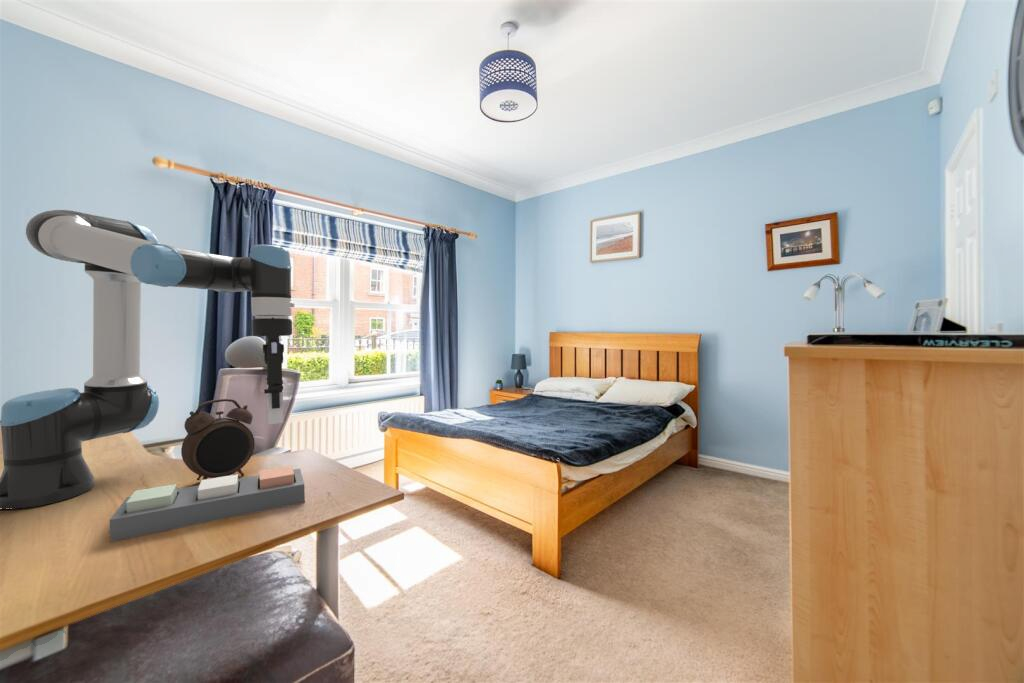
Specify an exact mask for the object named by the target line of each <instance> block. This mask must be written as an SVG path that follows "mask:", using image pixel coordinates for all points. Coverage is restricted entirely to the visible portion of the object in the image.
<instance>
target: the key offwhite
mask: <svg viewBox="0 0 1024 683" xmlns="http://www.w3.org/2000/svg"><path fill="white" fill-rule="evenodd" d="M238 479H239V474H237V473H236V474H232V475H229V476H224V477H217V478H207V479H205V480H202V479H200V483H199V488H198V500H202V499H207V498H213V497H218V496H224V495H229V494H235V493H238Z"/></svg>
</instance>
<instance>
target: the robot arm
mask: <svg viewBox="0 0 1024 683" xmlns="http://www.w3.org/2000/svg"><path fill="white" fill-rule="evenodd" d="M25 235H26V238H27V240H28V242H29V244H30V245H31V247H33V248H34V249H35V250H37V252H39V253H41V254H42V255H45V256H47V257H49V258H53V259H56V260H59V261H65V262H70V263H77V264H84V273H85V274H87V275H88V276H89V277H90V278H91V279H92V280H93V287H92V289H93V291H92V292H93V303H92V304H93V308H92V310H93V314H92V315H93V317H92V318H93V321H92V326H93V327H92V329H93V330H92V343H93V344H92V346H93V347H92V377H90V378H89V379H87V380H86V381H85V382H84V383H83V387H84V388H83V392H80V391H79V389H77V388H76V387H68V388H67V387H66V388H64V387H63V388H57V389H48V390H42V391H41V390H40V391H36V392H31V393H26V394H24V395H19V396H15V397H13V398H11V399H7V401H5V402H4V403H3V404H2V407H1V411H0V412H1V414H0V427H1V441H2V442H1V443H2V457H3V469H2V473H1V475H0V508H2V509H6V508H9V509H10V508H12V509H11V510H15V509H14V508H22V509H26V507H27V509H28V507H29V508H34V507H39V506H45V505H48V504H49V505H50V504H54V503H57V502H61V501H64V500H69V499H71V498H74V497H78V496H80V495H83V494H85V493H87V492H88V491H90V490H92V489H93V488H94V486H95V477H94V474H93V473H92V471H91V469H90V467H89V466H88V464H87V461H86V460H85V458H84V456H83V448H82V446H83V445H82V444H83V442H85V441H86V442H87V441H91V440H97V439H101V438H105V437H109V436H110V437H111V436H115V435H120V434H127V433H130V432H133V431H136V430H140V429H144V428H146V427H148V425H150V423H152V422H153V421H154V419H155V418H156V416H157V414H158V411H159V406H160V401H159V396H158V395H157V391H156V389H155V388H154V387H152V386H151V385H148V380H147V379H146V378H145V377H144V376H142V375H141V374H140V371H141V370H140V366H141V364H140V363H141V299H142V298H141V297H142V296H141V295H142V294H141V291H142V290H141V289H142V288H141V287H142V286H141V285H142V284H141V283H143V284H146V285H152V286H157V287H158V286H159V287H164V288H168V287H172V288H173V287H174V288H187V289H198V290H199V289H201V290H211V291H215V292H220V293H221V292H222V293H229V294H231V293H237V292H251V294H250V295H251V298H250V300H251V303H250V305H251V316H253V317H254V318H253V319H252V321H251V323H252V324H251V326H252V335H253V336H255V337H266V341H265V344H262V353H263V357H264V364H265V365H266V384H267V385H266V389H264V391H263V392H264V394H266V396H267V398H266V399H267V401H266V402H267V415H268V416H267V418H268V421H267V422H268V425H275V424H284V396H283V395H284V394H283V393H284V392H283V391H284V386H283V385H284V380H283V370H282V369H283V368H282V364H283V363H284V353H285V352H284V351H285V344H284V343H282V342H280V337H282V336H283V337H286V336H292V335H293V321H292V319H291V318H289V317H291V316H292V308H295V303H294V302H291V301H292V279H291V278H292V266H291V257H290V251H289V250H288V249H287V248H285V247H284V246H278V245H271V244H254V245H252V246H251V247H250V249H249V251H250V252H249V256H247V257H246V256H245V257H242V256H241V257H239V256H238V257H235V256H234V257H232V256H227V255H221V254H220V255H219V254H215V253H206V252H202V251H201V252H200V251H195V250H191V249H190V250H189V249H184V248H178V247H175V246H170V245H166V244H161V243H160V242H159V239H158V238H157V236H156V235H155V234H154V232H153V231H152V230H151V229H149V228H148V227H146V226H144V225H141V224H137V223H133V222H131V221H129V220H121V219H115V218H110V217H105V216H99V215H95V214H90V213H85V212H80V211H74V210H68V209H53V210H46V211H43V212H40V213H38V214H36V215H35V216H33V217H32V218H31V219H29V221H28V223H27V224H26V228H25Z"/></svg>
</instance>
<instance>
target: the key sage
mask: <svg viewBox="0 0 1024 683" xmlns="http://www.w3.org/2000/svg"><path fill="white" fill-rule="evenodd" d="M177 489H178V485H177V483H175V484H168V485H162V486H156V487H149V488H143V489H137V490H134V492H133V493H132V495H131V496H129V497H130V499H129V500H128V501H127V503H126V505H127V513H129V512H135V511H141V510H146V509H152V508H157V507H163V506H168V505H174V503H175V501H176V498H177Z"/></svg>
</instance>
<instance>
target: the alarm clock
mask: <svg viewBox="0 0 1024 683" xmlns="http://www.w3.org/2000/svg"><path fill="white" fill-rule="evenodd" d="M221 402H230V403H231V402H232V403H233V404H234V405H235V406H236V408H233V409H230V410H229V411H228V413H227V414H226V415H225V417H222V416H221V415H223V414H224V411H222V410H220V411H216V412H215V415H217V416H218V417H214V416H213V415H212V414H211V413H209V412H206V411H201V410H202V408H203V407H205V406H207V405H209V404H214V403H221ZM189 415H190V416H189V417H187V418H186V419H185V422H184V424H183V425H184V429H185V431H186V433H187V434H186V435H185V437H184V438H183V440H182V444H181V450H180V453H181V454H180V455H181V458H182V461H183V464H185V466H186V467H187V468H188V469H189V470H190V471H191V472H192V473H194V474H196V475H198V477H197V478H196V481H199V480H200V481H201V480H205V479H211V478H217V477H224V476H230V475H235V473H239V474H240V476H241V475H243V476H244V475H245V473H243V471H242V469H243V468H244V467H245V466H246V465H247V463H248V462H249V461H250V459H251V457H252V456H253V453H254V450H255V446H256V444H255V438H254V434H253V432H252V431H251V429H250V428H248V427H247V426H246V425H245V424H247V425H251V424H252V421H253V413H252V412H250V411H249V409H248V405H247V404H245V405H243V407H241V405H240V404H239V403H238V402H237V401H236V400H235V399H231V398H220V399H219V398H218V399H213V400H208V401H205V402H203V403H201V404H200V405H199V406H198V407H197V409H196V410H195V411H190V412H189ZM201 478H202V479H201Z"/></svg>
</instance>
